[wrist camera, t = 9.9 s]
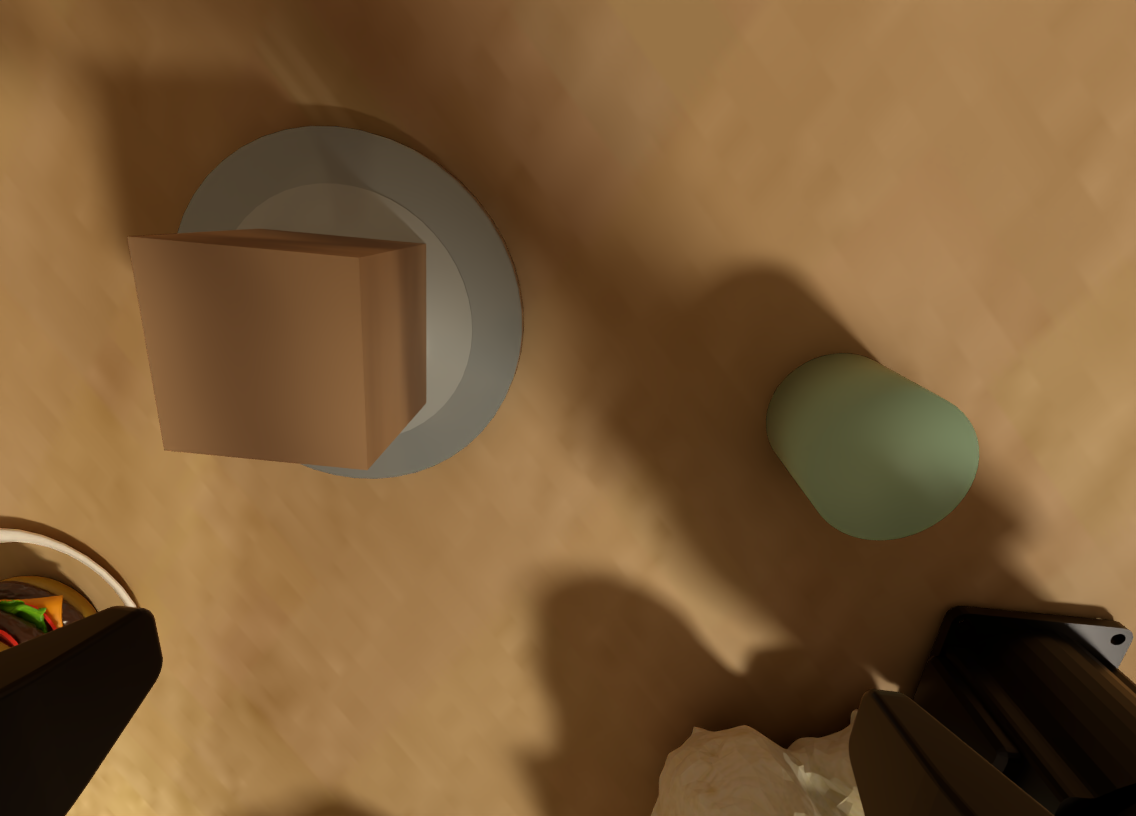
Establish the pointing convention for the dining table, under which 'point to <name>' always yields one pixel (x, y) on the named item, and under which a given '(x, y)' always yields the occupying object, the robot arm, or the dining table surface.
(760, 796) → the white lumpy piece
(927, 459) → the green tin
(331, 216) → the saucer
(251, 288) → the walnut block
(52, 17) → the dining table surface
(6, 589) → the hamburger
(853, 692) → the dining table surface
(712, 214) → the dining table surface
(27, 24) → the dining table surface
